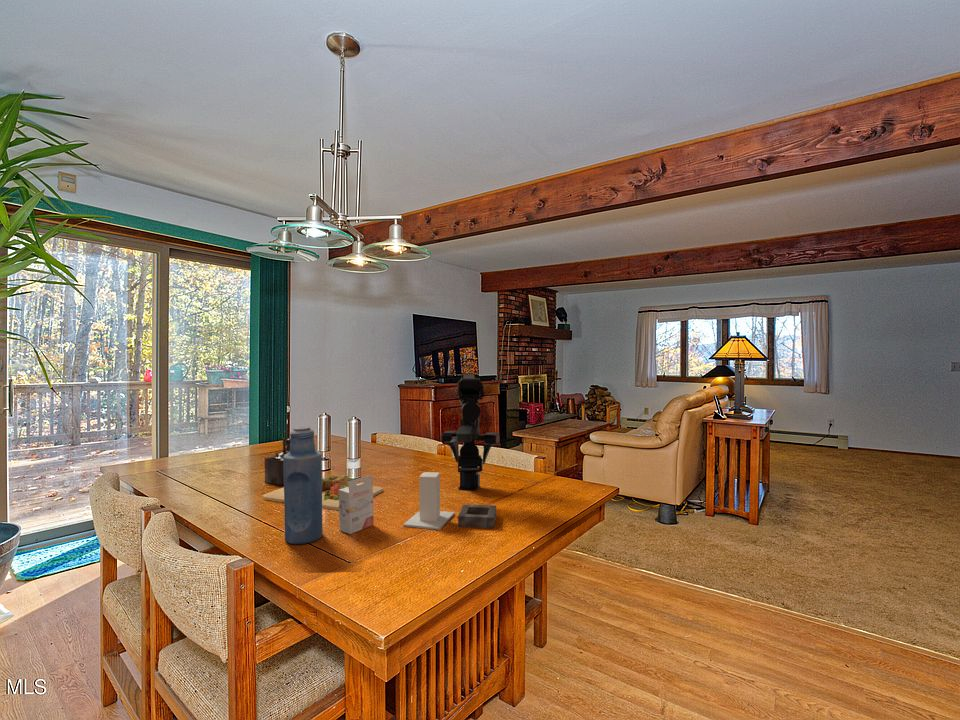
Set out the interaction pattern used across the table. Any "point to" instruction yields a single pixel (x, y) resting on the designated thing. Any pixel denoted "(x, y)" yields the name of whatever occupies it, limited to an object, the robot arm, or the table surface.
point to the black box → (276, 465)
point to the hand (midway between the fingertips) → (470, 462)
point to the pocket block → (477, 516)
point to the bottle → (302, 488)
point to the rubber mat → (434, 525)
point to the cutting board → (324, 491)
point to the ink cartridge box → (356, 505)
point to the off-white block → (429, 496)
